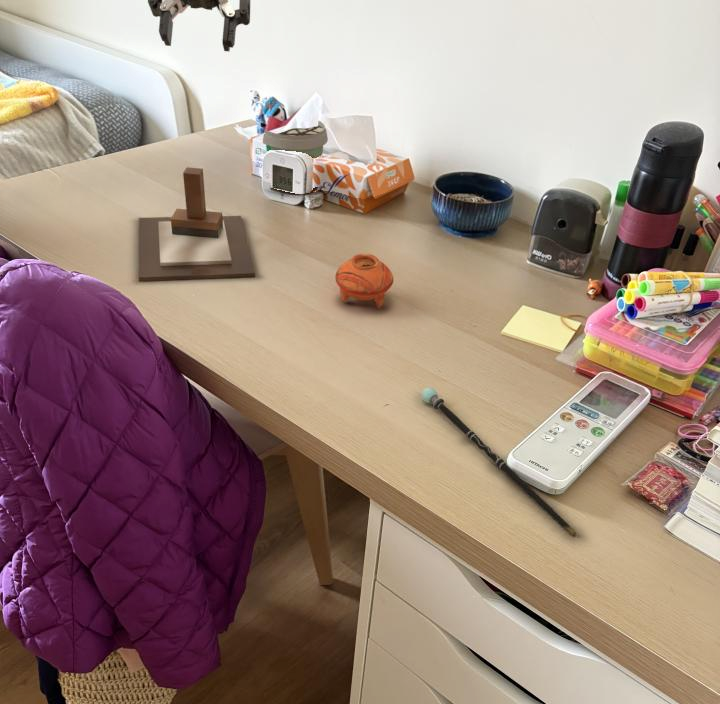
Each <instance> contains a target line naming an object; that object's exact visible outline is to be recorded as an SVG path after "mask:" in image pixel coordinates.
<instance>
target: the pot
mask: <svg viewBox="0 0 720 704" xmlns="http://www.w3.org/2000/svg"><path fill="white" fill-rule="evenodd" d="M334 280H335V283H336V285H337V286H338V288H339V291H340V295H341V299H342V302H343V303H348V300H349V298H350V297H351V298H353V299H355V300H360V301H370V300H374V301H375V303H376V308H377V309H379V308H382V304H383V302H384V299H385V293H387V292H388V291H389V290H390V289H391V288H392V286H393V284H394V275H393V273H392V271H391V269H390V268H389V267H388V266H387V265H386V264H385V263H384V262H382V261H381V260H380V259H379V258H378V257H377V256H376V255H373V254H370V253H369V254H366V253H359V254H356V255H354V256H353V257H352V258H350V259H348V260H347V261H345V262H344V263H343V264H342V265H341V266H340V267H338V269H337V270H336V272H335V276H334Z"/></svg>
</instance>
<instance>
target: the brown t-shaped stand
mask: <svg viewBox="0 0 720 704" xmlns="http://www.w3.org/2000/svg"><path fill="white" fill-rule="evenodd" d="M182 177H183V187H184V189H183V190H184V199H185V208H176V209H175V210H174V212H173V214H172V216H171V217H172V218H171V226H172V234H174V235H186V236H198V237H209V238H219V236H220V234H221V231H222V229H223V216H224V215H223V212H221V211H210V210H207V206H206V204H207V203H206V195H205V194H206V193H205V192H206V191H205V178H204V168H200V167H189V166H186V168H185V169H184V170H183V172H182Z"/></svg>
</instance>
